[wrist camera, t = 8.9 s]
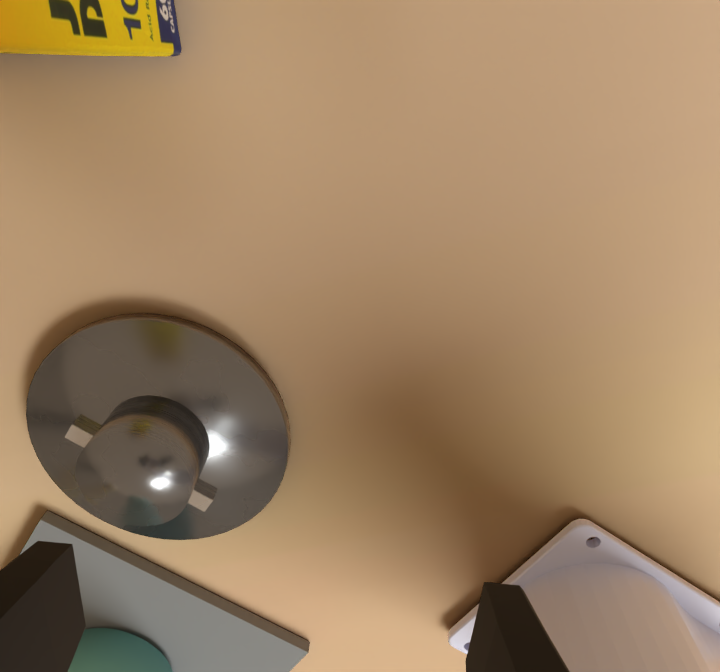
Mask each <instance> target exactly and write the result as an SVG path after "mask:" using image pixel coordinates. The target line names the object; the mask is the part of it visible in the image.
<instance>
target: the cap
mask: <svg viewBox="0 0 720 672" xmlns="http://www.w3.org/2000/svg"><path fill="white" fill-rule="evenodd" d="M68 672H173V671H172V668H171V666H170V664H169V662H168V661H167V659H166V658H165V656H164V655H163V654H162V653H161V652H160V651H159V650H158V649H156V648H155V647H154V646H153V645H151V644H150V643H148V642H147V641H145V640H143V639H142V638H139V637H137V636H135V635H133V634H130V633H127V632H124V631H120V630H116V629H109V628H90V629H85V630H84V632H83V634H82V637H81V640H80V642H79V645H78V647H77V650H76V652H75V655H74V657H73V660H72V662H71V665H70V667H69V669H68Z"/></svg>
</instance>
